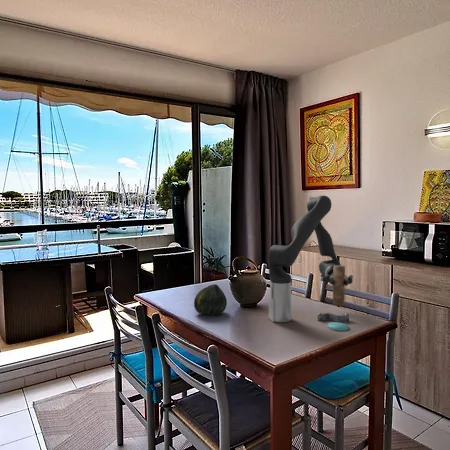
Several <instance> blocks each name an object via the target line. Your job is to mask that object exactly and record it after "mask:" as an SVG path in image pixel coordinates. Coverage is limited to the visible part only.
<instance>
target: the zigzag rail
mask: <svg viewBox="0 0 450 450" xmlns="http://www.w3.org/2000/svg"><path fill="white" fill-rule="evenodd" d="M322 321H331V322H339V323H347V322H346V321H349V322H350V313H349V312H346V313H345V314H334V313H330V312H325V313H322V312H317V322H322Z"/></svg>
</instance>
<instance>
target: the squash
mask: <svg viewBox="0 0 450 450" xmlns="http://www.w3.org/2000/svg"><path fill="white" fill-rule="evenodd" d="M193 302H194V303H193V305H194V306H193V307H194V309H195V311H196V312H197V313H198V314H200V315H202V316H205V315H208V316H210V315H214V316H219V315H221V314H222V313H224V311H225V310H226V308H227V305H228V302H227V297H226V294H225V292H224V291H223V290H222V288H221V287H220V286H219V285H218V284H216V283H214V284H211V285H210V284H209V285H208V286H206V287H204V288H202V289H201V290H199V291H198V292H197V294H196V295H195V297H194V301H193Z"/></svg>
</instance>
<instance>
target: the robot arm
mask: <svg viewBox="0 0 450 450" xmlns="http://www.w3.org/2000/svg"><path fill="white" fill-rule="evenodd" d="M331 208H332V200H331V198H330V197H329V196H327V195H319V196H317V197H314V198H311V199H309V200H308V201H307V203H306V209H307V212H305V213H304V214H303V215H302V216H301V217H299V218H298V219H297V220H296V222H295V223H294V224H293V225H292V227H291V230H290V231H291V232H290V235H291V239H292V241H291V242H290V243H289V244H288V245H281V244H273V245H272V246H271V247H270V248H269V251H268V257H267V258H268V259H267V260H268V275H269V279H270V282H269V286H270V287H269V288H270V290H269V291H270V295H269V297H268V319H269V320H270V321H271V322H273V323H274V322H275V323H288V322H290V321H292V276H291V274H289V273H288V272H286V271H285V270H284V269H283V267H285V268H290V267H291V266H293V264H295V262H296V261H297V258H298V256H299V255H300V253H301V251H302V249H303V247H304V245H305V244H306V243H307V241H308V240H309V238H310V237H311V236H312V234H313V233H314V234H315V235H316V240H317V245H318V249H319V254H320V256H322V257H329V258H330V259H328V260H323V261H320V263H319V264H318V270H319V273H320V281H321V282H323V283H325V284H328V283H329V284H330V285H332V286H333V285H334V279H333V266H334V265H342V264H341V262H340V260H339V259H338V256H337V254H336V252H335V248H334V244H333V243H334V242H333V238H332V236H331V234H330V233H329V231H328V230H327V229H326V228H325V226H324V225H323V224H322V222H321V221H322V220H323V219H324V218H325V217H326V216H327V215H328V213H330V211H331ZM353 281H354V275H352V274H350V275H348V276H347V275H346V274H345V287H346V286H347V287H348V286H349V285H352V283H354V282H353Z"/></svg>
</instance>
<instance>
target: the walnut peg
mask: <svg viewBox="0 0 450 450" xmlns="http://www.w3.org/2000/svg"><path fill="white" fill-rule="evenodd" d="M345 275H346V266H345V265H342V264H341V265H334V266H333V279H334V285H332V304H333V306H339V307H341V306H344V305H345V295H346V294H345V287H346V286H345Z"/></svg>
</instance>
